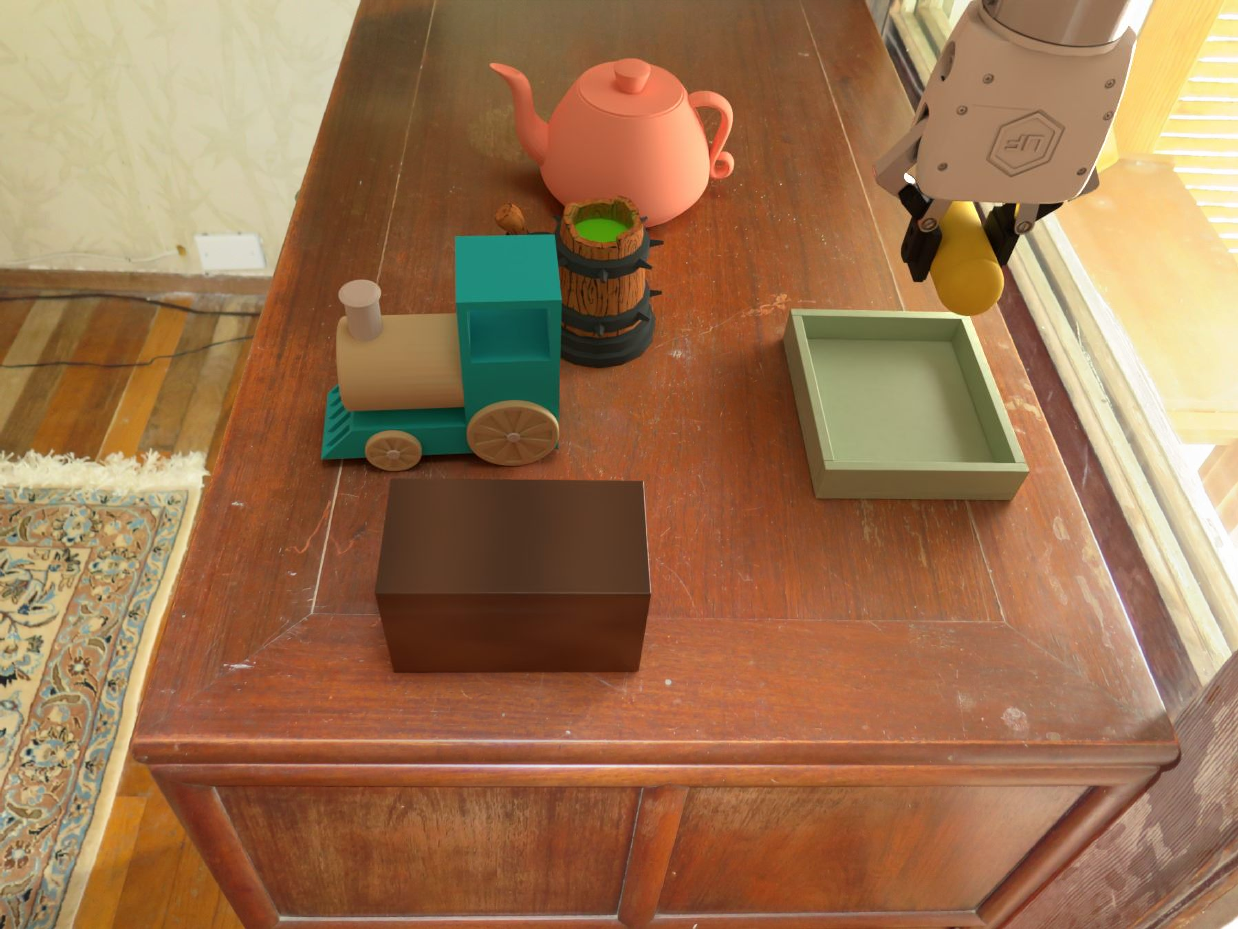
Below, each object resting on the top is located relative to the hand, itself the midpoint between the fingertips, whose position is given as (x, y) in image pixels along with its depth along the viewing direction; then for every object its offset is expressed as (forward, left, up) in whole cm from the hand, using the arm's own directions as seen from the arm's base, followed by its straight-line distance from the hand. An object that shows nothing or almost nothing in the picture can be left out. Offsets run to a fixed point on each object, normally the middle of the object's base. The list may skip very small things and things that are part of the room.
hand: (948, 267), depth 66 cm
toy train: (+19, +29, -14) cm, 37 cm away
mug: (+22, +14, -14) cm, 30 cm away
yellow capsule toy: (0, 0, 0) cm, 0 cm away
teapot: (+35, 0, -14) cm, 38 cm away
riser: (+2, +33, -14) cm, 36 cm away
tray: (0, 0, -14) cm, 14 cm away
